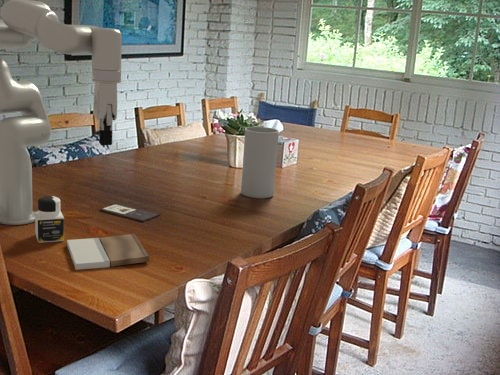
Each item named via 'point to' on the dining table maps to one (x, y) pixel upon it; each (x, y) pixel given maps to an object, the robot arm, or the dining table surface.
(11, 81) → the robot arm
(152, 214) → the chocolate bar
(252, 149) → the cylinder vase
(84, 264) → the laid board
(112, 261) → the plank
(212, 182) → the dining table surface
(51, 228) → the medicine bottle
